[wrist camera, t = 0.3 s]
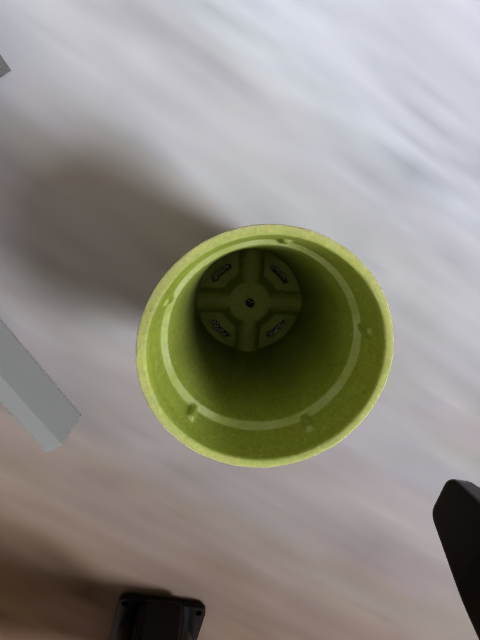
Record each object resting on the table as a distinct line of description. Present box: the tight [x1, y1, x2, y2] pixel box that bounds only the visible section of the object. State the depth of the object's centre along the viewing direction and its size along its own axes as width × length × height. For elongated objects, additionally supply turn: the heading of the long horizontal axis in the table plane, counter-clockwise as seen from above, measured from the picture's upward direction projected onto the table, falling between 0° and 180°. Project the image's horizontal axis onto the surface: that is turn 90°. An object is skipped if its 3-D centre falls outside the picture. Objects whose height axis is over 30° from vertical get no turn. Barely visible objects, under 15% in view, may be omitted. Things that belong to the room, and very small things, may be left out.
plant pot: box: [136, 224, 394, 468], centre depth 18 cm, size 9×9×9 cm
